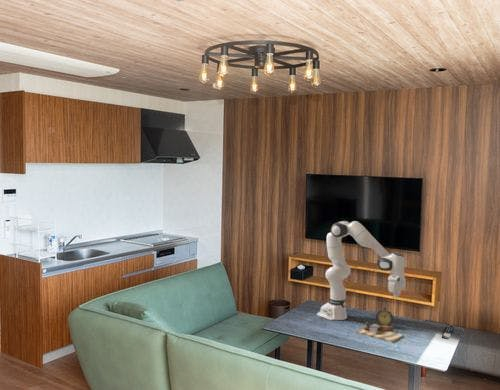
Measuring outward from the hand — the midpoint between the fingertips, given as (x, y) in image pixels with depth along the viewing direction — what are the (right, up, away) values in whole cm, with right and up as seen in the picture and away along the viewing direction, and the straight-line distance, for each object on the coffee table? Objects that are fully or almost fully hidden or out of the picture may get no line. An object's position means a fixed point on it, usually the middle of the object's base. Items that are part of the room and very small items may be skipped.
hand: (397, 296), depth 327 cm
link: (-14, -22, -4) cm, 26 cm away
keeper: (-17, -22, -7) cm, 29 cm away
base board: (-14, -24, -9) cm, 29 cm away
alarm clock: (-6, -23, +8) cm, 25 cm away
